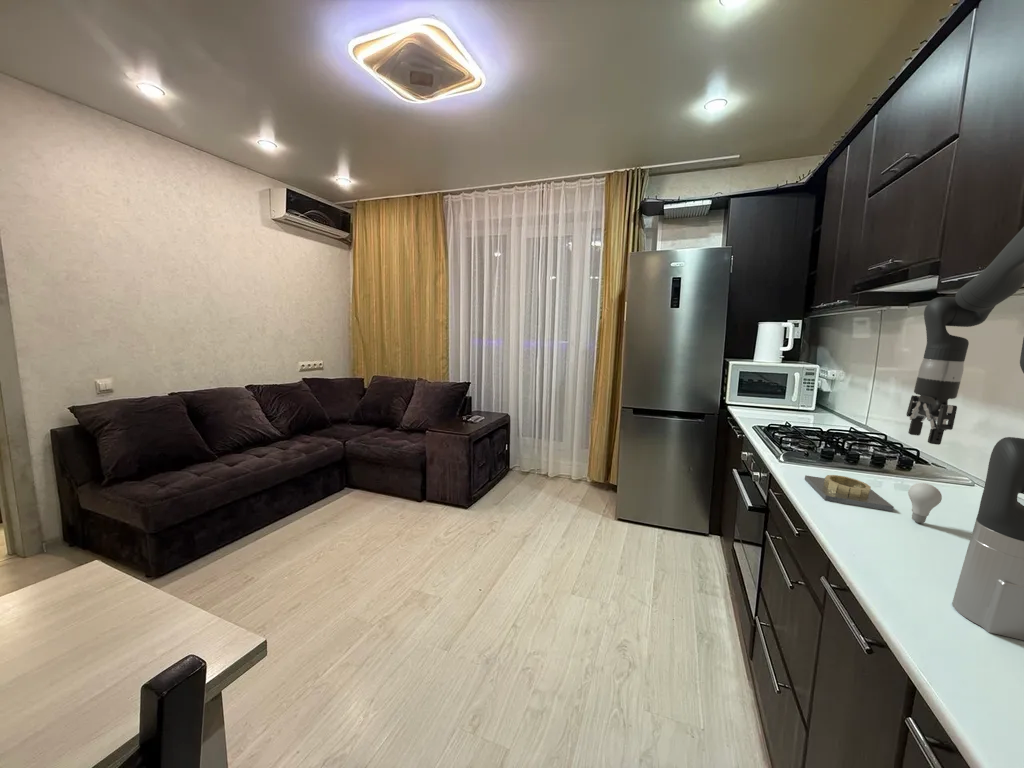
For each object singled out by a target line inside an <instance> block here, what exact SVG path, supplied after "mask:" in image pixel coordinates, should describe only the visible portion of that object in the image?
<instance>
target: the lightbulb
mask: <svg viewBox="0 0 1024 768" xmlns="http://www.w3.org/2000/svg"><path fill="white" fill-rule="evenodd" d="M907 494H908V497H909V499H910V502H911V507H912V508H911V512H912V514H911V519H912V521H914V522H915V523H917V524H924V523H925V522H926V521H927V517H928V516H930V513H931V511H932V510H933V509H934V508H935V507H937V506H938V505H940V503H942V499H943V496H942V493H941V491H940V490H939V488H937V487H935V486H934V485H932V484H929V483H924V482H918V483H915V484H913V485H911V486H910V487H909V489H908V491H907Z"/></svg>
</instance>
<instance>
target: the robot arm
mask: <svg viewBox="0 0 1024 768" xmlns="http://www.w3.org/2000/svg"><path fill="white" fill-rule="evenodd" d="M1023 285H1024V226H1023V227H1022V228H1021V229H1020V230H1019V231H1018V232H1017V233H1016V235H1015V236H1013V238H1012V239H1011V240H1010V241H1009V242H1008V243H1007V244H1006V246H1005V247H1004V248H1003V249H1002V250H1001V251H1000V252H999V253H998V255H996V257H995V258H994V259H993V260H992V262H990V263H989V264H988V265H987V267H986V268H984V269H983V270H982V271H981V272H980V273H978V274H976V275H975V276H974V277H973V278H972V279H970V280H969V281H968V282H966V283H965V284H964V285H963V286H962V287H960V288H959V289H958V290H957V292H956V294H955V296H939V297H935V298H933V299H931V300H930V301H929V302H928V303H926V306H925V308H924V310H923V316H924V317H923V319H924V325H925V330H926V331H925V334H926V346H925V349H924V354H923V358H922V361H921V363H920V365H919V369H918V373H917V377H916V381H915V385H914V389H913V393H914V394H916V395H911V397H910V399H909V403H908V407H907V411H906V417H909V420H910V423H909V428H908V431H907V432H908V434H909V435H911V436H917V437H918V436H921V433H922V429H923V425H924V421H925V420H927V421H928V422H929V423H930V430H929V434H928V439H927V443H928V444H930V445H938V446H939V445H941V444H942V440H943V438H944V437H943V436H944V433H945V431H948V430H950V431H952V430H953V429H954V424H955V420H956V416H957V415H956V414H957V411H958V406H957V405H954V404H953V405H952V404H948V403H949V402H948V401H949V400H954V399H956V398H957V397H958V393H959V389H960V385H961V381H962V378H963V374H964V368H965V367H964V366H965V364H964V363H965V361H966V358H967V357H966V356H967V354H968V353H967V352H968V348H969V339H967V338H965V337H963V336H957V335H952V334H950V333H949V331H948V330H947V327H957V328H958V327H961V328H965V327H966V328H971V327H976V326H979V325H980V324H983V323H984V322H985V321H986V320H987V318H988V317H989V316H990V314H991V312H992V311H993V309H995V308H996V306H997V305H999V304H1001V303H1002V302H1004V301H1005V300H1008V298H1010V297H1011V296H1013V295H1014V294H1016V293H1017V292H1018V291H1019V290H1020V289H1021V288H1022V287H1023ZM1021 345H1022V347H1021V350H1020V351H1021V352H1020V357H1019V358H1020V359H1019V366H1020V368H1021V371H1022V373H1023V374H1024V337H1023V338H1022V344H1021ZM987 466H988V467H987V472H986V478H985V481H984V487H983V490H982V495H981V498H980V502H979V508H978V512H977V516H976V519H975V521H974V525H973V529H972V533H971V536H970V539H969V543H968V545H967V550H966V553H965V556H964V560H963V562H962V563H963V564H962V566H961V570H960V574H959V578H958V581H957V584H956V588H955V591H954V594H953V600H952V602H951V604H952V607H953V608H954V610H955V611H957V612H958V613H959V614H960V615H961V616H963V617H964V618H966V619H967V620H969V621H971V622H973V623H974V624H976V625H978V626H979V627H982V628H983V630H985V631H986V632H988V633H991V634H994V635H998V636H999V635H1000V636H1005V637H1008V638H1013V639H1017V640H1021V641H1024V504H1022V503H1020V502H1019V500H1018V495H1019V494H1022V495H1024V438H1023V437H1022V438H1021V437H1015V436H1007V437H1006V436H1005V437H1003V438H1000V440H998V441H997V442H996V443H995V445H994V446H993V449H992V451H991V454H990V457H989V462H988V465H987Z"/></svg>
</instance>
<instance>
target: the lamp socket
mask: <svg viewBox="0 0 1024 768" xmlns="http://www.w3.org/2000/svg"><path fill="white" fill-rule="evenodd" d="M803 480H804V481H805V482H807V484H808V485H809V486H810V487H811V488H812V489H813V490H814V491H815V492H816V493H817V494H818V495H819V496H820V497H821V498H822V500H823V501H827V502H833V503H837V504H838V503H839V504H844V505H850V506H854V507H855V506H856V507H862V508H868V509H875V510H880V511H886V512H894V508H895V507H894V506H893V504H891V503H890V502H888V501H887V500H886V499H885V498H883V497H882V496H880V495H879V494H878V493H877V492H875V491H874V490H873V489H871V488H872V487H871V486H870V485H869V484H867V482H863V481H861V480H858V479H856V478H852V477H848V476H844V475H838V474H827V475H826V476H825V477H821V476H820V477H819V476H812V475H804V479H803Z"/></svg>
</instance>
